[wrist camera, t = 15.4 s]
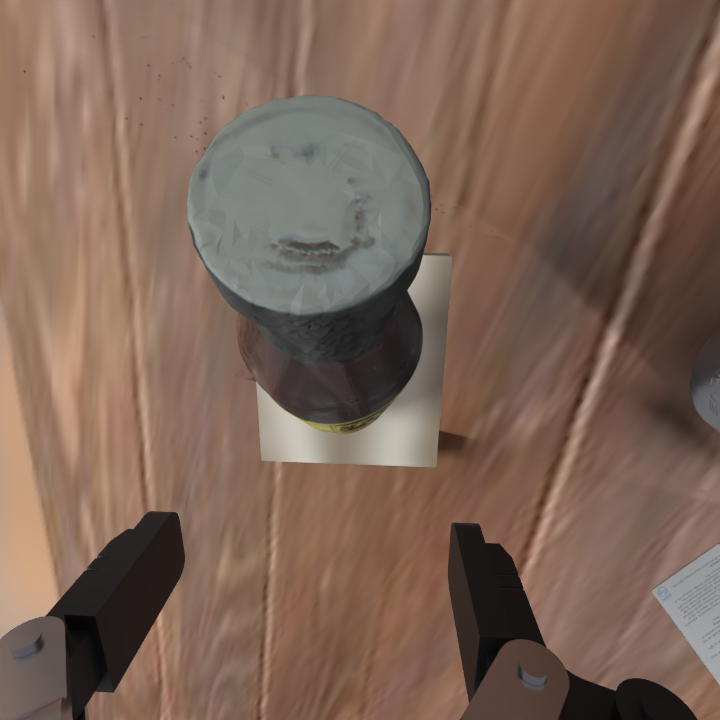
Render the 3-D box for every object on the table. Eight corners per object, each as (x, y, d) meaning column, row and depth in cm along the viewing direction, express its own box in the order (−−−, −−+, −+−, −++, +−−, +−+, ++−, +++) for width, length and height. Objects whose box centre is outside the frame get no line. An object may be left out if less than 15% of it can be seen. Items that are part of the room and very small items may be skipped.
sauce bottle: (358, 453, 26) (361, 518, 6) (270, 400, 26) (5, 297, 7) (413, 360, 27) (568, 152, 7) (326, 310, 27) (243, -14, 7)
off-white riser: (445, 252, 28) (452, 255, 25) (431, 445, 32) (436, 467, 29) (261, 249, 28) (248, 252, 25) (271, 439, 33) (261, 460, 30)
